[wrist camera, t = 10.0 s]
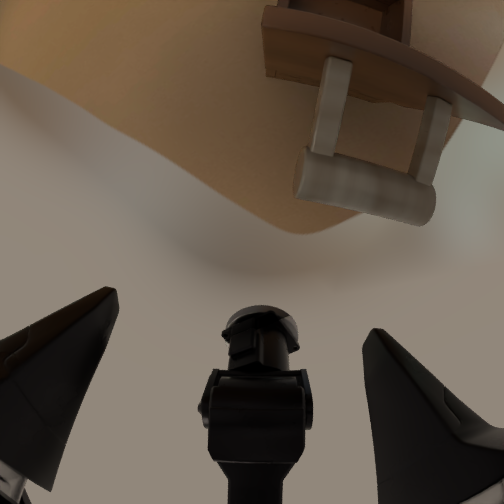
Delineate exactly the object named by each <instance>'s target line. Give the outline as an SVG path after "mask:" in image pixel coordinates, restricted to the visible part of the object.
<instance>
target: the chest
mask: <svg viewBox="0 0 504 504" xmlns="http://www.w3.org/2000/svg"><path fill="white" fill-rule="evenodd" d="M412 4H413V0H278V4H277V7H283V8H289V9H294V10H299V11H304V12H309V13H313V14H317V15H321V16H325V17H329V18H333V19H336V20H340V21H343V22H347V23H350V24H353V25H356V26H359V27H362V28H365V29H368V30H371V31H373V32H376V33H379V34H381V35H384V36H386V37H389V38H391V39H394V40H396V41H398V42H401V43H403V44H405V45H407V46H409V45H410V35H411V22H412ZM266 76H267V77H272V78H278V79H283V80H289V81H294V82H299V83H303V84H308V85H312V86H316V87H320V83H321V80H318V79H314V78H310V77H305V76H301V75H296V74H291V73H286V72H280V71H275V70H269V69H266ZM347 95H350V96H353V97H356V98H360V99H363V100H366V101H369V102H372V103H381V102H389V101H387V100H384V99H381V98H378V97H376V96H373V95H370V94H367V93H364V92H361V91H357V90H354V89H351V88H348V93H347Z"/></svg>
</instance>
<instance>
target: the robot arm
mask: <svg viewBox="0 0 504 504" xmlns="http://www.w3.org/2000/svg"><path fill="white" fill-rule="evenodd" d="M118 313H119V303H118V296H117V291H116V289H115V288H111V287H106V286H105V287H103V288H101V289H99V290H97V291H95V292H93V293H91V294H89V295H87V296H85V297H83V298H81V299H79V300H77V301H75V302H73V303H71V304H69V305H67V306H65V307H64V308H61V309H60V310H58V311H56V312H54V313H52V314H50V315H48V316H47V317H44V318H43V319H41V320H39V321H37V322H35V323H33V324H31V325H30V327H29V326H27V327H26V328H24V329H22V330H20V331H18V332H16V333H14V334H12V335H10V336H9V337H6V338H5V339H2V340H0V504H31V502H30V500H29V497H28V495H27V493H26V490H25V488H24V487H25V484H26V482H27V479H29V480H31V481H32V482H34V483H35V484H37V485H39V486H40V487H42V488H44V489H46V490H48V491H49V492H51V490H52V487H53V484H54V480H55V477H56V474H57V470H58V467H59V464H60V461H61V458H62V455H63V452H64V449H65V446H66V443H67V440H68V437H69V435H70V432H71V429H72V427H73V424H74V421H75V419H76V416H77V414H78V411H79V409H80V406H81V404H82V401H83V399H84V396H85V394H86V392H87V389H88V387H89V385H90V382H91V380H92V378H93V375H94V373H95V371H96V369H97V367H98V364H99V362H100V360H101V358H102V356H103V354H104V351H105V349H106V346H107V344H108V341H109V338H110V335H111V332H112V329H113V327H114V324H115V321H116V319H117V316H118ZM269 315H272V316H269ZM226 334H228V335H226ZM221 336H222V337H223V338H224V340H225V341H226V342H227V343H228V344H229V352H228V355H229V356H230V358H229V364H228V370H219V369H213V371H212V374H211V375H210V377H209V379H208V382H207V385H206V388H205V390H204V393H203V396H202V399H201V402H200V403H199V405H198V412H199V413H200V414H201V415H202V420H203V425H204V427H205V428H207V429H208V451H209V453H210V455H211V457H212V459H213V460H214V461H217V463H218V464H219V466H220V468H221V469H222V471H223V472H224V474H225V475H226V477H227V478H228V504H282V490H283V480H284V478H285V477H286V476H287V474H288V473H289V471H290V470H291V468H292V467H293V466H294V464H295V463H297V462H298V460H299V458H300V457H301V455H302V453H303V451H304V448H305V430H310V429H311V427H312V422H313V399H312V393H311V388H310V384H309V380H308V375H307V371H306V369H301V370H292V371H291V370H289V356H288V354H290V353H293V352H295V351H297V350H299V348H300V346H299V343H298V342H297V341H296V339H295V338H294V337H293V335H292V334H291V333H290V331H289V330H288V329H287V327H286V326H285V325H284V323H283V322H282V321H281V319H280V318H279V317H278V315H277V314H276V313H275V312H274V311H272V310H269V311H267V312H265V313H262V314H260V315H258V316H255V317H253V318H250V319H248V320H245V321H243V322H241V323H238V324H236V325H234V326H232V327H230V328H227V329H225V330H223V331H222V334H221ZM362 354H363V365H364V380H365V389H366V395H367V402H368V408H369V415H370V422H371V429H372V437H373V445H374V454H375V464H376V475H377V485H378V486H377V488H378V489H377V490H378V504H504V428H497V427H494V426H492V425H490V424H488V423H487V422H486V421H484V420H483V419H482V418H481V417H480V416H478V415H477V414H476V413H475V412H474V411H472V410H471V409H470V408H468V407H467V406H466V405H465V404H464V403H463V402H461V401H460V400H459V399H458V398H457V397H456V396H455V395H454V394H453V393H452V392H451V391H450V390H449V389H447V388H446V387H444V385H443V384H442V383H441V382H440V381H439V380H438V379H437V378H436V377H435V376H434V375H433V374H432V373H431V372H429V371H428V370H427V369H426V368H425V367H424V366H423V365H422V364H421V363H420V362H419V361H418V360H417V359H415V358H414V357H413V356H412V355H411V354H410V353H409V352H408V351H407V350H406V349H405V348H403V347H402V346H401V345H400V344H399V343H398V342H397V341H396V340H395V339H393V337H391V336H390V335H389V334H388V333H387V332H386V331H384V330H383V329H378V328H373V329H372V330H371V331H370V333H369V335H368V337H367V339H366V340H365V342H364V344H363V348H362Z"/></svg>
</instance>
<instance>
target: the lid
mask: <svg viewBox="0 0 504 504" xmlns="http://www.w3.org/2000/svg"><path fill="white" fill-rule="evenodd" d="M261 28H262V38H263V48H264V59H265V69H269V70H275V71H280V72H286V73H291V74H296V75H301V76H305V77H310V78H314V79H318V80H321V83H320V88H319V93H318V98H317V103H316V108H315V113H314V118H313V123H312V128H311V132H310V137H309V142H308V146H304V147H303V148H302V149H301V151H300V153H299V156H298V160H297V164H296V169H295V174H294V182H293V194H294V197H295V198H297V199H302V200H307V201H312V202H317V203H322V204H327V205H331V206H336V207H341V208H345V209H350V210H354V211H359V212H363V213H367V214H372V215H376V216H380V217H384V218H388V219H392V220H396V221H400V222H404V223H408V224H411V225H415V226H423V225H425V224H426V223H427V222H428V221H429V220H430V219H431V217H432V215H433V213H434V210H435V205H436V193H435V189H434V187H433V185H432V182H433V179H434V176H435V173H436V170H437V166H438V163H439V160H440V156H441V153H442V149H443V145H444V142H445V138H446V134H447V130H448V126H449V121H450V117H451V116H454V117H458V118H462V119H466V120H470V121H473V122H477V123H481V124H484V125H487V126H491V127H494V128H497V129H500V130H503V131H504V104H503V103H502V102H500V101H499V100H498V99H496V98H495V97H494V96H492V95H491V94H490V93H488V92H487V91H485V90H484V89H483V88H481V87H480V86H478V85H477V84H475V83H474V82H472V81H471V80H469V79H468V78H466V77H465V76H463V75H462V74H460V73H458V72H457V71H455V70H453V69H452V68H450V67H448V66H446V65H445V64H443V63H441V62H439V61H437V60H436V59H434V58H432V57H430V56H428V55H426V54H424V53H422V52H420V51H418V50H416V49H414V48H412V47H410V46H407V45H405V44H403V43H401V42H398V41H396V40H394V39H391V38H389V37H386V36H384V35H381V34H379V33H376V32H373V31H371V30H368V29H365V28H362V27H359V26H356V25H353V24H350V23H347V22H343V21H340V20H336V19H333V18H329V17H325V16H321V15H317V14H313V13H309V12H304V11H299V10H294V9H289V8H283V7H277V6H270V5H267V6H265V8H264V12H263V18H262V23H261ZM348 88H351V89H354V90H357V91H361V92H364V93H367V94H370V95H373V96H376V97H378V98H381V99H384V100H387V101H389V102H392V103H395V104H397V105H400V106H402V107H408V108H414V109H420V110H424V113H423V117H422V122H421V126H420V130H419V134H418V138H417V142H416V145H415V149H414V153H413V156H412V160H411V163H410V167H409V170H408V173H404V172H401V171H398V170H394V169H391V168H388V167H385V166H382V165H378V164H375V163H372V162H368V161H365V160H361V159H358V158H354V157H350V156H346V155H342V154H338V153H334V152H335V147H336V143H337V139H338V135H339V130H340V126H341V121H342V117H343V112H344V107H345V103H346V98H347V93H348Z"/></svg>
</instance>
